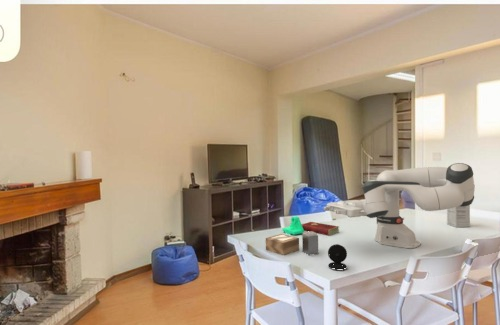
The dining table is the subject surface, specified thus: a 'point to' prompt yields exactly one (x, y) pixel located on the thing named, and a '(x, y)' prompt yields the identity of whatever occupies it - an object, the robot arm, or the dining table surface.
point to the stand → (282, 244)
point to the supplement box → (459, 216)
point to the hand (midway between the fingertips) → (330, 210)
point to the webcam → (337, 256)
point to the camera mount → (294, 226)
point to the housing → (310, 242)
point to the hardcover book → (320, 228)
